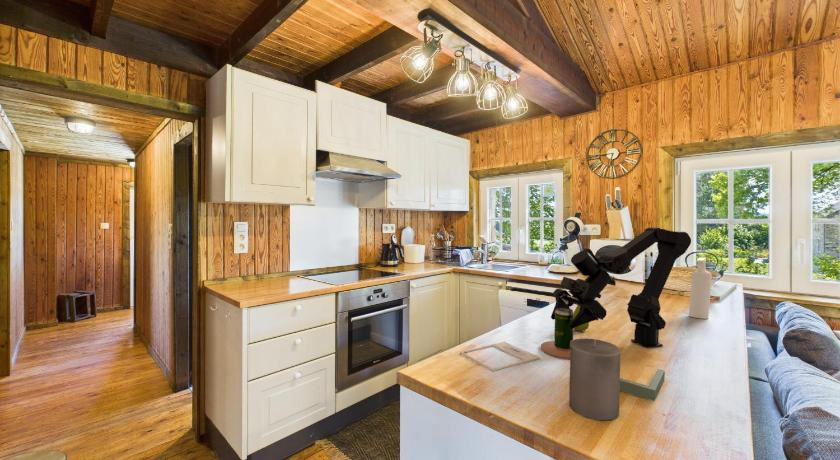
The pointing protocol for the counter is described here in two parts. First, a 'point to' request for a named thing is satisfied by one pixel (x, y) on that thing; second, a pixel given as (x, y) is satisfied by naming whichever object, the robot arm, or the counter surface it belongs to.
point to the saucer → (554, 350)
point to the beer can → (563, 329)
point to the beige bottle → (700, 291)
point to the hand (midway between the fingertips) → (560, 322)
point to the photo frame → (508, 349)
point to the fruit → (581, 327)
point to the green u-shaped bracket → (644, 386)
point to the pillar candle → (594, 379)
